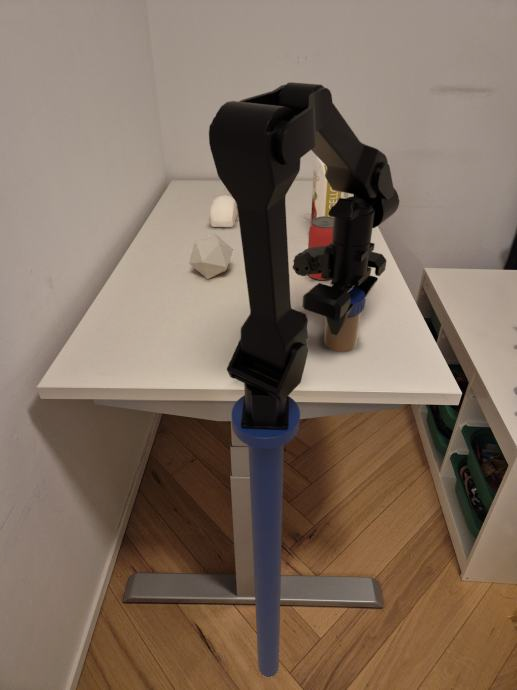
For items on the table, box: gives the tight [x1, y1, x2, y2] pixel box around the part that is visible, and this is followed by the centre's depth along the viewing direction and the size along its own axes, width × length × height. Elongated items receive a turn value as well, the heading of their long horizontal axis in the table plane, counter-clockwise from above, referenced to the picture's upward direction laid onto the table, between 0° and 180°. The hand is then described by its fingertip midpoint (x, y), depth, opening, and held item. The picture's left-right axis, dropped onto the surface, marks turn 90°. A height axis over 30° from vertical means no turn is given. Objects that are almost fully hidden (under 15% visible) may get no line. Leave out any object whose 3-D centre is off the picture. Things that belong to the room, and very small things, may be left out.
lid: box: [348, 287, 367, 317], centre depth 76 cm, size 6×6×2 cm
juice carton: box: [310, 156, 349, 226], centre depth 111 cm, size 8×9×19 cm
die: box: [188, 232, 234, 280], centre depth 100 cm, size 8×9×10 cm
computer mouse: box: [209, 195, 238, 228], centre depth 126 cm, size 6×13×6 cm, turn 174°
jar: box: [323, 312, 362, 353], centre depth 78 cm, size 6×6×9 cm
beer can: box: [307, 216, 334, 281], centre depth 98 cm, size 7×7×12 cm
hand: (342, 325), depth 79 cm, fingers closed on lid, 6 cm apart
